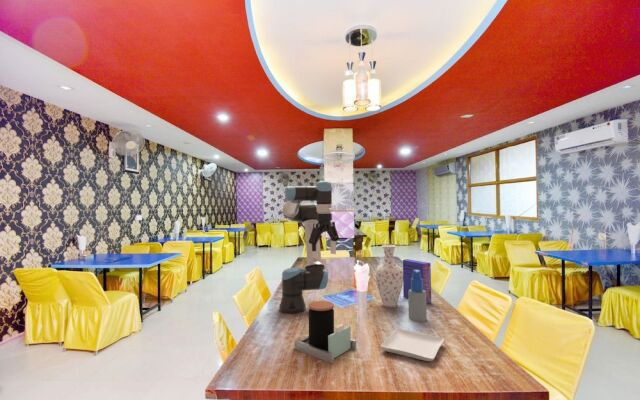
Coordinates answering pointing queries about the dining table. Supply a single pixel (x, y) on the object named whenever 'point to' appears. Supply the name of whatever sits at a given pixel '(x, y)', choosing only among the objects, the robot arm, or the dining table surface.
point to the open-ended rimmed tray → (317, 349)
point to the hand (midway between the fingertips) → (324, 255)
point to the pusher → (339, 340)
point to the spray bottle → (417, 298)
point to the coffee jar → (320, 323)
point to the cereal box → (425, 275)
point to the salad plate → (413, 344)
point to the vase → (389, 278)
